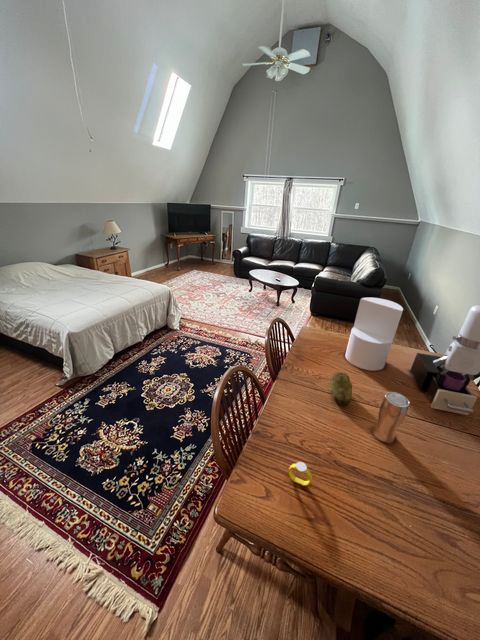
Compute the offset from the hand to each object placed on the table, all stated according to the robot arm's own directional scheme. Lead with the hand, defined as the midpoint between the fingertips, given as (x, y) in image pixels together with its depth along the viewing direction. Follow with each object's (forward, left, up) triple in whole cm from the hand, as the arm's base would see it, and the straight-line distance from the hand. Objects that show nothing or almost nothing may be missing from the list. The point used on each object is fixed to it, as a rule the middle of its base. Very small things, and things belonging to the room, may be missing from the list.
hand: (450, 383), depth 98 cm
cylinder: (+25, -22, -9) cm, 34 cm away
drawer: (0, +2, -8) cm, 8 cm away
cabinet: (0, -12, -9) cm, 14 cm away
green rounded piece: (+38, +9, -9) cm, 40 cm away
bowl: (0, 0, -1) cm, 1 cm away
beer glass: (+25, +24, -9) cm, 36 cm away
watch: (+50, +48, -9) cm, 70 cm away
